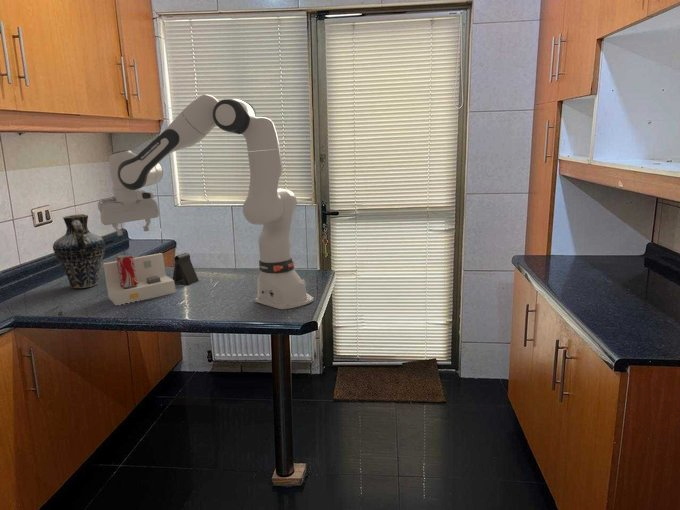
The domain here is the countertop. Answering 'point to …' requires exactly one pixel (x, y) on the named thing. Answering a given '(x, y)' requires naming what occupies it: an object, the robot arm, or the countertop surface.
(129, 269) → the beverage can
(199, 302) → the countertop surface
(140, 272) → the white stepped stand
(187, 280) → the dark grey wedge
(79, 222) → the dark grey patterned vase
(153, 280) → the breaker
